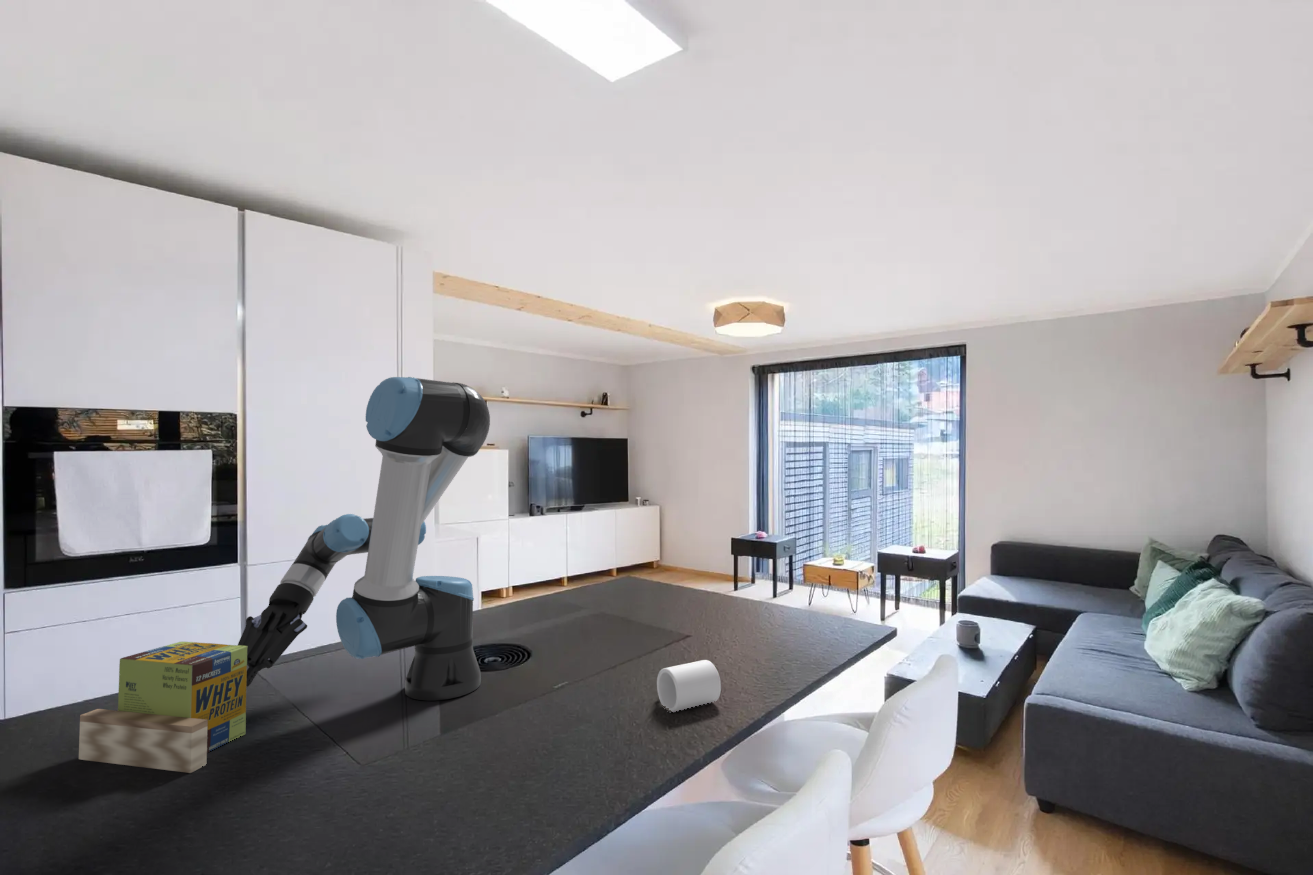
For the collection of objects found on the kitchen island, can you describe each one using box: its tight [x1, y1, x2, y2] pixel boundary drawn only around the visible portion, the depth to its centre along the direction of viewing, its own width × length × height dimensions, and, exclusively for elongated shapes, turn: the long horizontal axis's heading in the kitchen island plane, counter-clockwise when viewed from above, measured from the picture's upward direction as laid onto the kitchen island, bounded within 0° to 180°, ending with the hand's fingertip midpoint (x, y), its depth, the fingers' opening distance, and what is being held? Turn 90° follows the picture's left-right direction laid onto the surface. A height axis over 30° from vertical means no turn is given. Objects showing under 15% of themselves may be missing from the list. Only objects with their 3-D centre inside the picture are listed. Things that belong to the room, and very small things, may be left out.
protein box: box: [117, 641, 247, 754], centre depth 103 cm, size 10×15×16 cm
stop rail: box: [78, 708, 208, 774], centre depth 97 cm, size 22×3×7 cm, turn 78°
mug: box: [656, 659, 722, 713], centre depth 120 cm, size 12×10×8 cm
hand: (226, 702), depth 111 cm, fingers closed
